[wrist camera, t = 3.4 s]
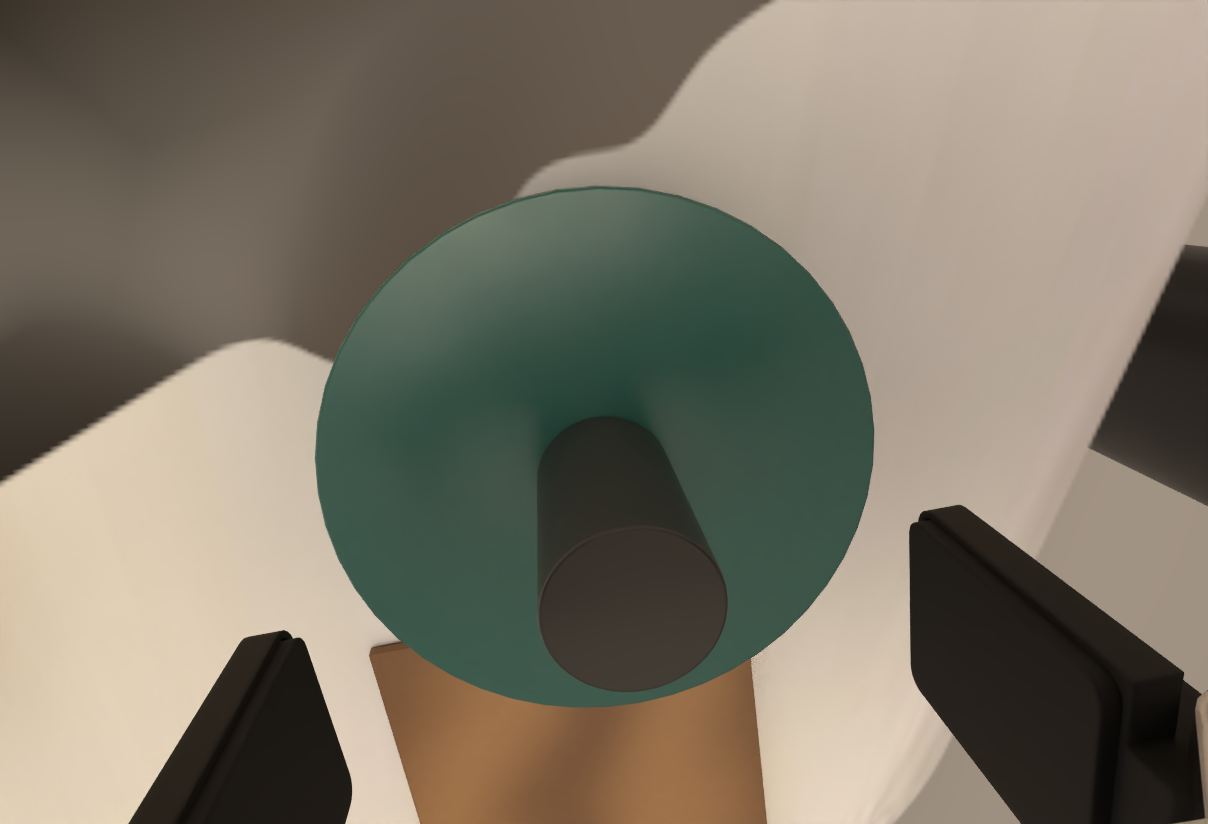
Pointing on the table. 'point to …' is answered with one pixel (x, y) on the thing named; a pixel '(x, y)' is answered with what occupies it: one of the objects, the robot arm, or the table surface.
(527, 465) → the tin lid
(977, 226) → the table surface
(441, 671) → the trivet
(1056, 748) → the robot arm
